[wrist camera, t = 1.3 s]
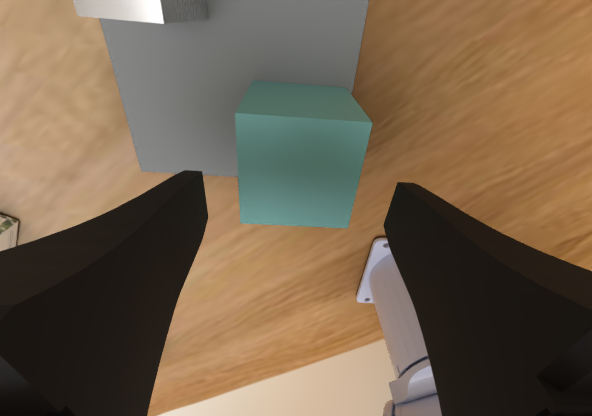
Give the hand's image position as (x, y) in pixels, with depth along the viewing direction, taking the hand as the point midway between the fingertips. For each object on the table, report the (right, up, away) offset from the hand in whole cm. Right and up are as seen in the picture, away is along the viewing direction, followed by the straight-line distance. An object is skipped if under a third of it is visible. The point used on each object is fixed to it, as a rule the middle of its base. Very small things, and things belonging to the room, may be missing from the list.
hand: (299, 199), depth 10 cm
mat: (-3, +7, +5) cm, 9 cm away
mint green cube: (0, +4, +6) cm, 8 cm away
